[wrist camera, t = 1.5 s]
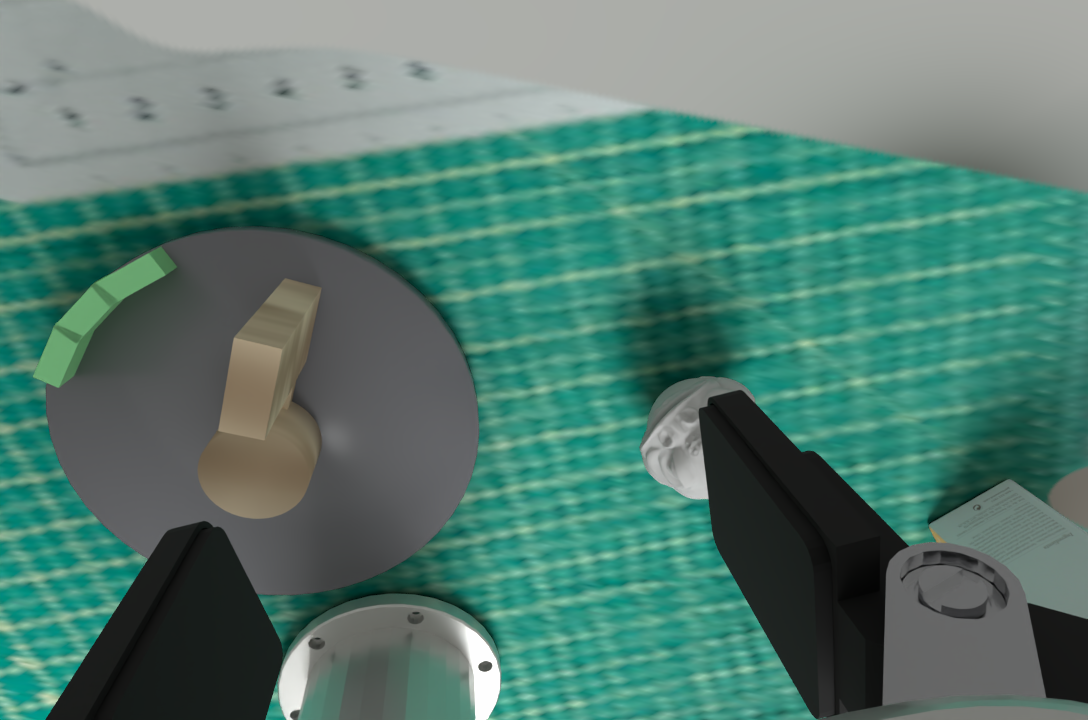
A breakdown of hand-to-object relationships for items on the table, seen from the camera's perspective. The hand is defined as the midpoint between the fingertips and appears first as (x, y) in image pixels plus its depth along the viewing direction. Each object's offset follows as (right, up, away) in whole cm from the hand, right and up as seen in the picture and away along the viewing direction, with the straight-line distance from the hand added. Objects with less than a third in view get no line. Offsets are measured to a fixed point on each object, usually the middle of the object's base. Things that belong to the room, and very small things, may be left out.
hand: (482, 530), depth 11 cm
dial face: (-12, 0, +20) cm, 23 cm away
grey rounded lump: (+8, +1, +23) cm, 24 cm away
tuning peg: (-11, +2, +18) cm, 21 cm away
